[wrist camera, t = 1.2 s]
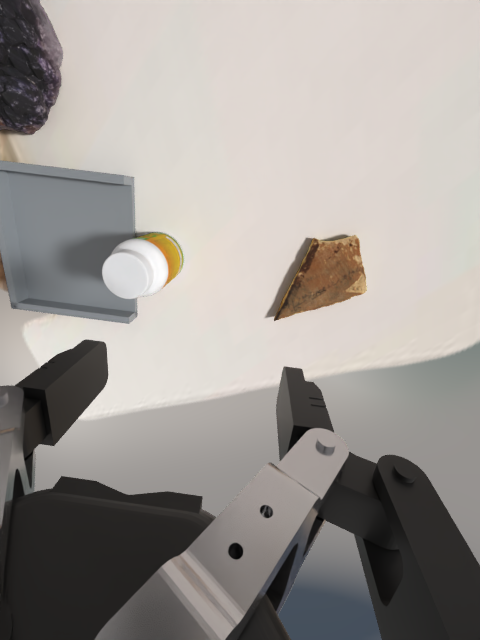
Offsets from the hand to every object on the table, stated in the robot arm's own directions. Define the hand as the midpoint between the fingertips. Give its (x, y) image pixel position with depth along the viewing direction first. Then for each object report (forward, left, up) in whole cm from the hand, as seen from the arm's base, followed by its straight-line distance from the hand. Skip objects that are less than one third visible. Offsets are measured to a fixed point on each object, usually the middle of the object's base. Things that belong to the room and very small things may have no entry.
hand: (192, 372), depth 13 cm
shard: (+1, +11, -23) cm, 25 cm away
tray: (0, -19, -22) cm, 29 cm away
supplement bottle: (0, -9, -22) cm, 24 cm away
